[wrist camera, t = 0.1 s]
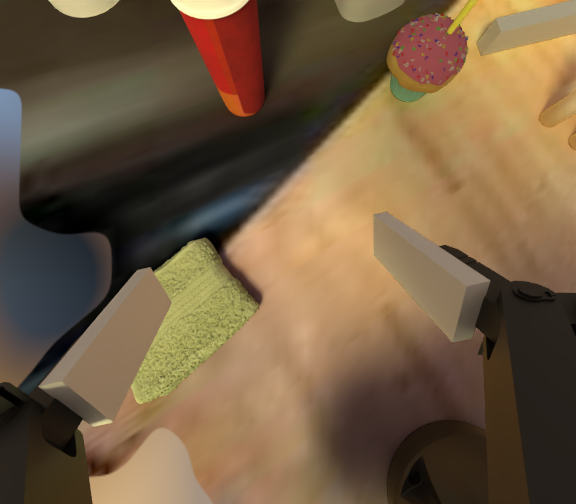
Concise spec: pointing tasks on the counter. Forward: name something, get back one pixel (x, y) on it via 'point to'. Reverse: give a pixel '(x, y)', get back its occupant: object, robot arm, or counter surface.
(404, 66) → the cupcake
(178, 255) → the washcloth
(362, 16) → the lumpy-topped squat cylinder
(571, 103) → the pin
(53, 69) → the counter surface
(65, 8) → the honey pot
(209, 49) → the paper cup
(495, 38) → the white long bar
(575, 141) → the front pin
